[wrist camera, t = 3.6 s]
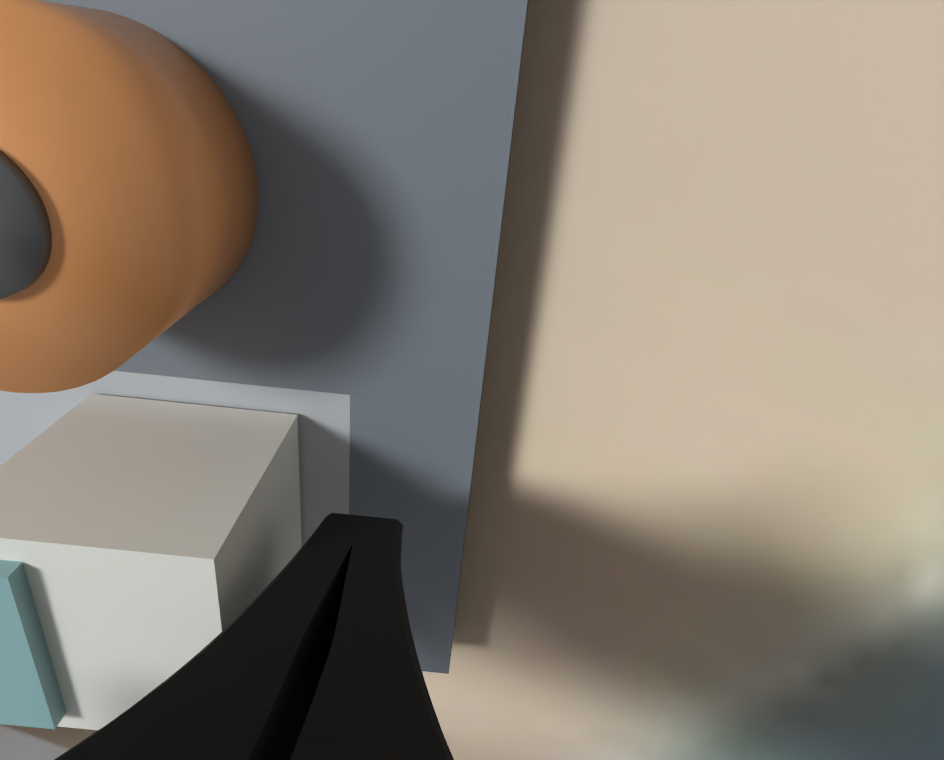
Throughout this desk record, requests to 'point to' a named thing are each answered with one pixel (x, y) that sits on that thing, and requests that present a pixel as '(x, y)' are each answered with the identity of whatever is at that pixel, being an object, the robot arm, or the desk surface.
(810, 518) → the desk surface
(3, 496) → the block
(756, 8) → the desk surface
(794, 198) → the desk surface
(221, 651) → the robot arm
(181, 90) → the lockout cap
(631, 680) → the desk surface
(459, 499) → the breaker panel
